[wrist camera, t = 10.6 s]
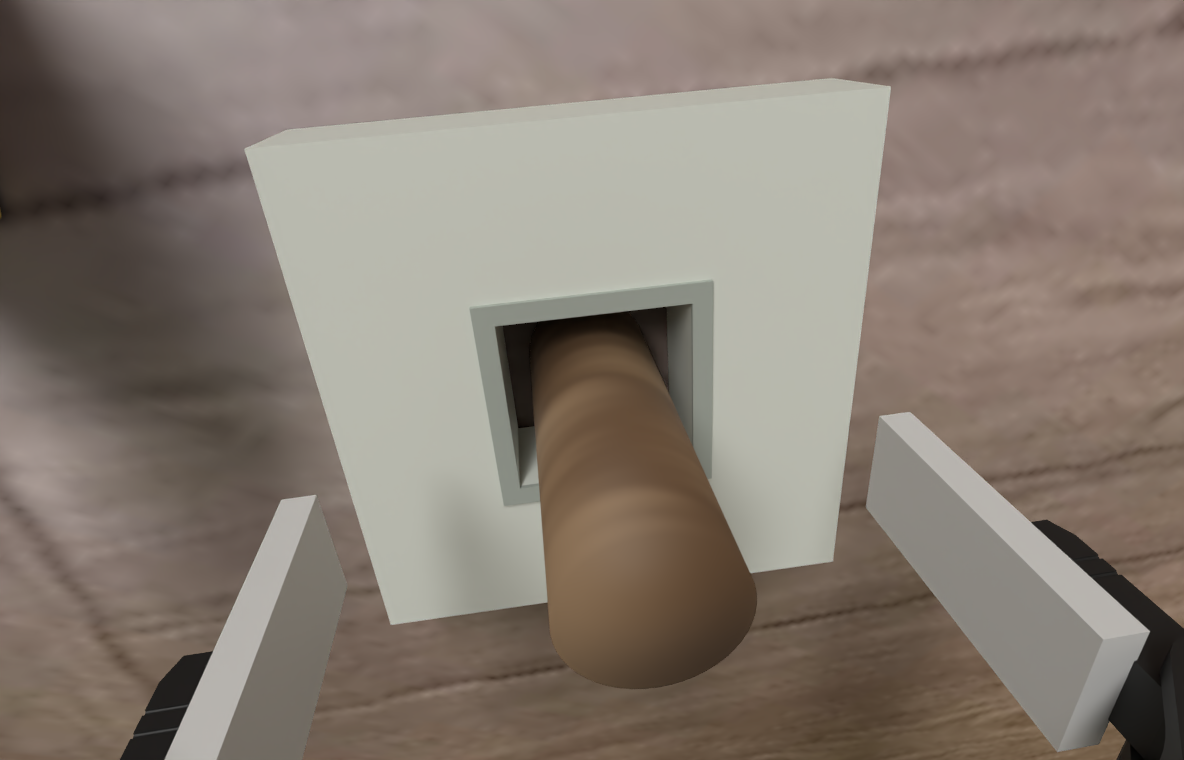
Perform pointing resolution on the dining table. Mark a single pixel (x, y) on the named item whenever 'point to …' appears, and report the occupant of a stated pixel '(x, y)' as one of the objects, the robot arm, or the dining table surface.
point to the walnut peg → (628, 514)
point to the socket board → (579, 307)
